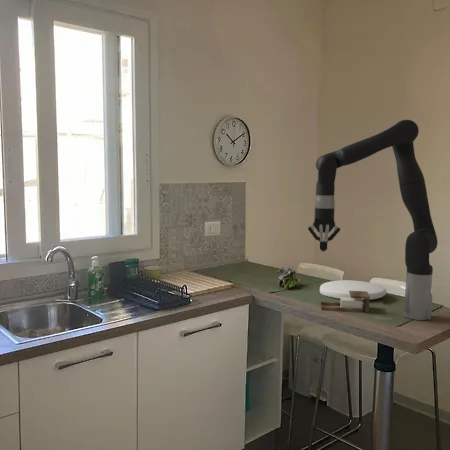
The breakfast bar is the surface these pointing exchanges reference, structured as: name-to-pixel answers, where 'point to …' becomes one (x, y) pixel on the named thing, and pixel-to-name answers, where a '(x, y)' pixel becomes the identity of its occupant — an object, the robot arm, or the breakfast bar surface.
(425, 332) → the breakfast bar surface
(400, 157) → the robot arm
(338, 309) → the dock
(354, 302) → the white rectangular block
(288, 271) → the passion flower
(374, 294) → the plate
